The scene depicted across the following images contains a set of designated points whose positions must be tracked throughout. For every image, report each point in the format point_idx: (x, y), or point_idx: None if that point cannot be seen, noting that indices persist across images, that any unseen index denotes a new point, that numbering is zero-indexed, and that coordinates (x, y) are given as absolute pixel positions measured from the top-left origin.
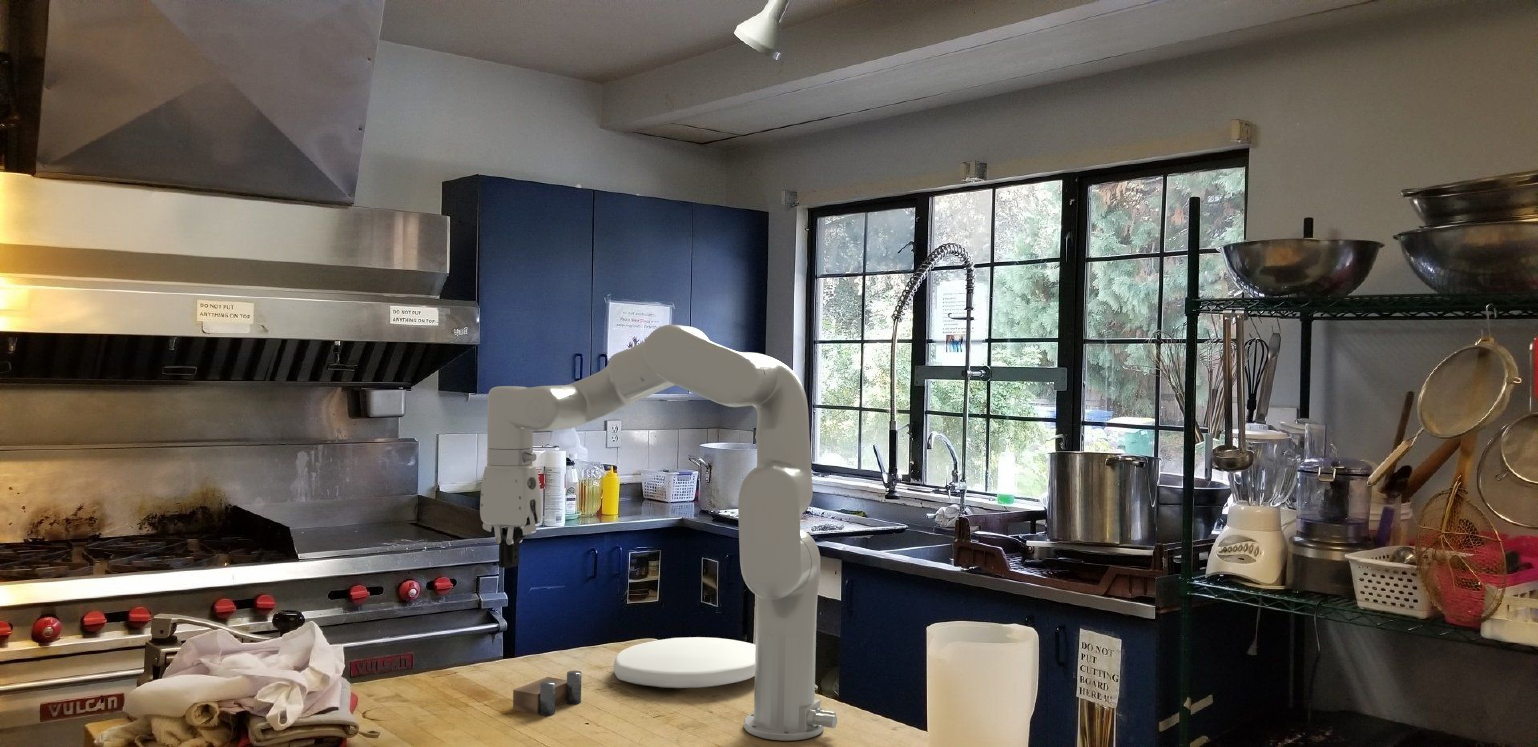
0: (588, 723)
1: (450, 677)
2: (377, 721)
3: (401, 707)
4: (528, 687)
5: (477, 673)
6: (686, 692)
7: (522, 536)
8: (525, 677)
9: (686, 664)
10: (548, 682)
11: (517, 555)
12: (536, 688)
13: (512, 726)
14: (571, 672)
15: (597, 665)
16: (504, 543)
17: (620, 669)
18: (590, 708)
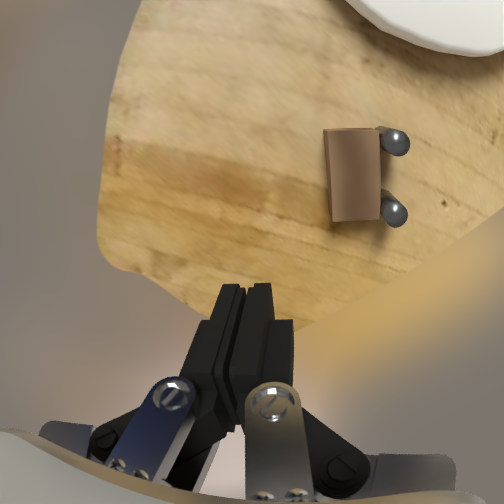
0: (445, 203)
1: (133, 159)
2: None
3: (203, 281)
4: (344, 198)
5: (143, 118)
6: None
7: (332, 444)
8: (217, 80)
9: (490, 25)
10: (396, 213)
11: (291, 344)
12: (359, 196)
13: (373, 260)
14: (394, 145)
15: None
16: (228, 421)
17: (392, 29)
18: (418, 149)
